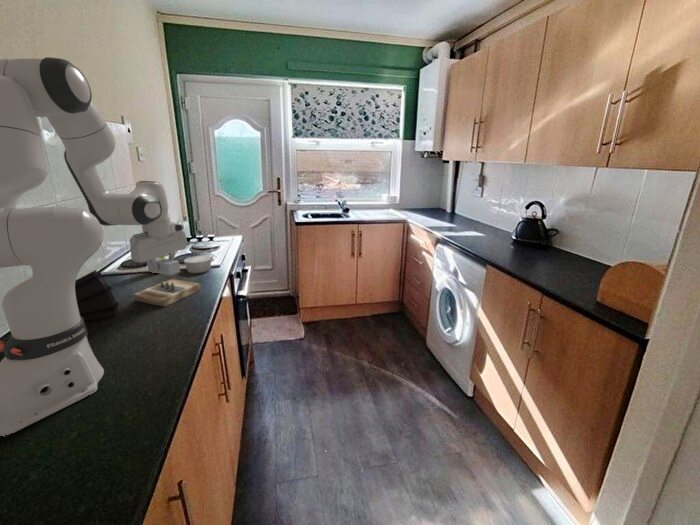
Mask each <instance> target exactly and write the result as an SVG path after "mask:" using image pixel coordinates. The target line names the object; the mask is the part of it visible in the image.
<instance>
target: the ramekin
mask: <svg viewBox="0 0 700 525" xmlns="http://www.w3.org/2000/svg"><path fill="white" fill-rule="evenodd" d="M183 263H184V265H185V268H186V271H187V272H188V273H190V274H201V273H205V272H206V273H207V272H209V271H210V270H211V267H212V257H211V256H210V255H196V256H195V255H194V256H189V257H187V258H185V259H183Z"/></svg>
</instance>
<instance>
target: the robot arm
mask: <svg viewBox="0 0 700 525" xmlns="http://www.w3.org/2000/svg"><path fill="white" fill-rule="evenodd" d="M92 93H93V92H92V90H91V85H90V84H89V81H88V80H87V77H86V76H85V75H84V73H83V72H82V71H81V69H80V68H78V67H77V66H75V64H73V63H71V62H70V61H69V60H67V59H63V58H60V57H59V58H58V57H43V58H37V57H36V58H34V57H33V58H32V57H31V58H30V57H29V58H26V57H25V58H16V57H12V58H10V57H9V58H1V59H0V269H2V268H9V267H11V268H12V267H21V266H28V267H29V266H30V268H31V271H32V276H31V277H30V278H28V279H26V280H23V281H22V282H19V284H16V285H15V286H13V287H12V288H10V289H9V290H8V291H7V292H6V293H5V295H4V296H3V298H2V301H1V302H2V303H1V308H2V310H3V312H4V316H5V318H6V322H7V325H8V327H9V330H10V336H9V338H8V339H7V341H6V342H5V341H2V340H0V353H2V352H3V353H4V356H5V357H4V358H3V359H1V361H0V436H3V437H6V436H5V435H7V436H9V434H10V435H11V433H12V434H14V433H16V432H18V431H20V430H22V429H24V428H26V427H28V426H30V425H32V424H34V423H36V422H38V421H40V420H43V419H45V418H46V417H49V416H50V415H53V414H54V413H56V412H58V411H60V410H62V409H65V408H66V407H68V406H70V405H72V404H74V403H77V402H78V401H81V400H82V399H84V398H85V399H86V398H87V397H89V396H90V395H92V394H94V393H95V392H97V390H98V386H99V385H98V384H99V382H100V380H102V378H103V376H104V374H105V370H104V368H103V367H102V365H101V364H100V362H99V361H98V359H97V358H96V356H95V353H94V351H93V350H92V348H91V345H90V342H89V341H88V339H89V337H88V336H89V335H88V330H87V327H86V324H85V320H83V318H82V317H81V316H80V313H79V309H78V305H77V299H76V293H75V282H76V280H77V277H78V274H79V272H80V271H81V268H82V267H83V266H84V265H85V263H86V262H87V261H88V260H89V259H90V258H91V257H93V255H95V254H96V253H97V252H98V251H99V250H100V248H101V246H102V244H103V241H104V230H103V227H102V226H104V227H105V226H141V229H142V232H139V233H135V234H133V235H132V236H131V237H130V239H129V243H130V257H131V260H132V261H133V262H135V263H140V264H141V263H144V262H147V261H148V262H149V263H150V264H151V265H152V266H153V270H159V269H160V265H159V264H156V262H155V261H156V258H157V257H161V256H164V257H165V256H167V255H168V258H167V259H169V260H175V257H176V252H179V251H182V250H184V249H187V246H188V241H187V236H186V232H185V231H184V230H185V226H184V224H181V223H176V222H173V221H171V217H170V216H169V215H170V214H169V203H168V198H167V193H166V190H165V187H164V186H163V184H162V183H161V182H158V181H152V180H140V181H137V182H136V184H135V188H134V189H133V190H132V191H131V192H129V193H114V192H111V191H109V190H107V189H106V188H105V186H104V183H103V182H102V180H101V177H100V176H99V174H98V171H97V170H96V166H98V165H100V164H102V163H103V162H105V161H106V160H107V159H109V158H110V157H111V156H112V155H113V153H114V152H115V149H116V139H115V136H114V134H113V132H112V129H110V126H109V125H108V123H107V121H106V119H105V118H104V117H103V115H102V114H101V112H100V111H99V109H98V108H97V106H96V105H95V104H94V102H93V101H92V97H93V96H92V95H93V94H92ZM38 118H46V119H47V120H48V122H49V124H50V126H51V127H52V129H53V130H54V131H55V133H56V134H57V137H59V139H60V140H61V142H62V144H63V146H64V149H65V150H64V152H63V156H64V158H63V159H64V162H65V164H66V166H67V168H68V170H69V173H70V174H71V176H72V178H73V179H74V181H75V183H76V185H77V187H78V189H79V190H80V192H81V194H82V195H83V197H84V199H85V201H86V204H87V207H88V209H89V210H87V209H85V208H75V207H67V206H45V207H44V206H42V207H24V208H21V207H20V208H16V207H17V204H18V203H17V202H18V200H19V199H20V197H22V196H23V195H24V194H25V193H27V192H28V191H29V192H30V191H32V190H34V189H36V188H37V187H39V186H41V185H42V184H43V182H45V180H46V179H47V177H48V173H49V172H48V167H47V160H46V154H45V150H44V149H45V148H44V145H43V144H44V143H43V138H42V133H41V129H40V126H39V125H40V124H39V121H38ZM88 395H89V396H88ZM86 396H87V397H86Z"/></svg>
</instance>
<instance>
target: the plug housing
mask: <svg viewBox="0 0 700 525" xmlns="http://www.w3.org/2000/svg"><path fill="white" fill-rule="evenodd" d="M155 262H156V264H159V265H160V269H159V270H153V266H152V265H151V264H150V263H149V262H148V261H146V264H147V269H148V272H149V273H151V272H153V273H159V275H165V276H172V275H175V274H178V273H180V272H181V268H180V261H179V260H175V259H174V260H169V259H168V258H165V259H163V258H156V261H155ZM153 273H152V274H153Z"/></svg>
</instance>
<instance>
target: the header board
mask: <svg viewBox="0 0 700 525" xmlns="http://www.w3.org/2000/svg"><path fill="white" fill-rule="evenodd" d="M159 282H160V283H158V284H156V285H153V286H150V287H147V288H145V289H143V290H140V291H138V292H135V293H133V297H134V298H133V299H134V300H135V302H141V303H144V304H145V303H146V304H151V305H155V306H160V307H167V306H168V307H169V305H171V304H173V303H176V302H178V301H180V300H183V299H184V298H187V297H188V296H191V295H193V294H195V293H197V292H199V291H201V289H202V288H201V284H200V283H198V282H191V281H186V280H179V279H175V278H174V279H172V278H171V279H168V280H166V281H164V280H161V281H159Z"/></svg>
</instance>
